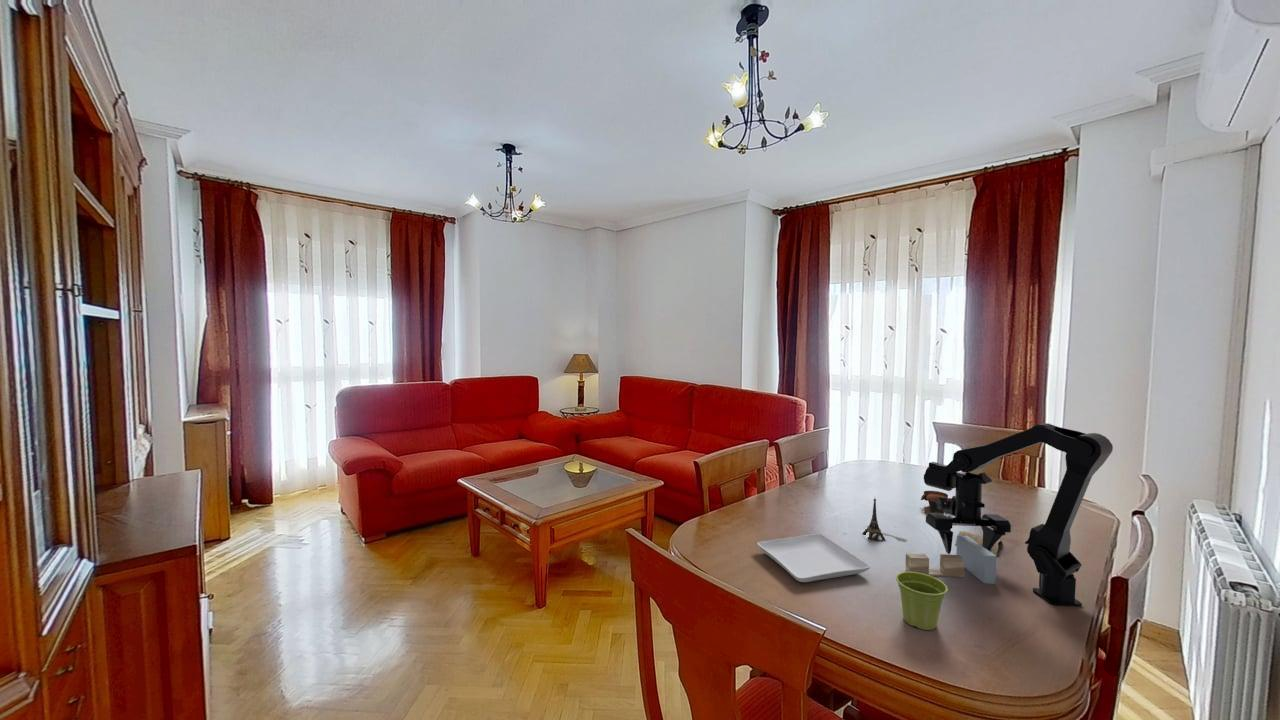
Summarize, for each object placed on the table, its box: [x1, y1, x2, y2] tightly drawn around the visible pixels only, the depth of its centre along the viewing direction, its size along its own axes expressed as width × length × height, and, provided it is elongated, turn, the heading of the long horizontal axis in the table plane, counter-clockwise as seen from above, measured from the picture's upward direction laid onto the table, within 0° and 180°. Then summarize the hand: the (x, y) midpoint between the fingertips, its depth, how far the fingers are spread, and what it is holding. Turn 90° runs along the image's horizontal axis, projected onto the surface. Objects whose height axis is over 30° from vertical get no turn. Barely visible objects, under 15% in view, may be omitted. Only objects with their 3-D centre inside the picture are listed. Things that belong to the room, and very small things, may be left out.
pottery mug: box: [920, 490, 952, 515], centre depth 166 cm, size 12×10×8 cm
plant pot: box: [895, 571, 949, 631], centre depth 103 cm, size 9×9×9 cm
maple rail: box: [904, 552, 965, 578], centre depth 124 cm, size 3×13×4 cm, turn 86°
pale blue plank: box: [955, 534, 997, 585], centre depth 125 cm, size 12×3×7 cm, turn 176°
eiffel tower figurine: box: [861, 497, 908, 543], centre depth 146 cm, size 15×10×13 cm
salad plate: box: [756, 533, 871, 583], centre depth 129 cm, size 21×21×3 cm
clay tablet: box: [954, 530, 1003, 557], centre depth 141 cm, size 14×10×3 cm
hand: (966, 553), depth 129 cm, fingers open, 9 cm apart
